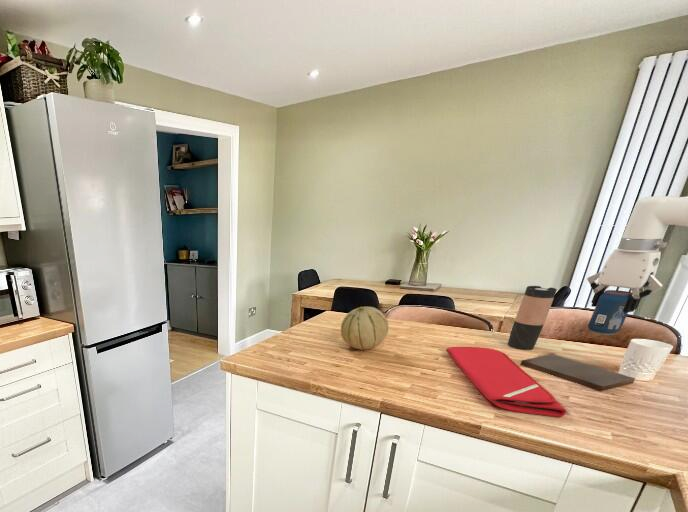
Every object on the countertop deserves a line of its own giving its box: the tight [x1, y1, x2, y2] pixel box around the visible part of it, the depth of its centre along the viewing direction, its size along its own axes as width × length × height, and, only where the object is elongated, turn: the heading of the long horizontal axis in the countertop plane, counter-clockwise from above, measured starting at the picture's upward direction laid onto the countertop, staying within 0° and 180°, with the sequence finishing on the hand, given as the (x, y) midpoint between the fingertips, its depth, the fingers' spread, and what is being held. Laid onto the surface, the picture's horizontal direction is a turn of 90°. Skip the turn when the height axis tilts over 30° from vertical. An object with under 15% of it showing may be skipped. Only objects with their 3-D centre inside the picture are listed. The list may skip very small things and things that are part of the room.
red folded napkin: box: [445, 346, 567, 418], centre depth 112 cm, size 16×41×4 cm, turn 161°
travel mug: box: [507, 285, 558, 351], centre depth 132 cm, size 8×8×20 cm
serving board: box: [520, 353, 636, 392], centre depth 115 cm, size 20×14×2 cm
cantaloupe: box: [340, 306, 390, 351], centre depth 135 cm, size 15×15×15 cm
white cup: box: [617, 338, 674, 382], centre depth 111 cm, size 8×8×10 cm
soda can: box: [587, 289, 633, 336], centre depth 117 cm, size 7×7×12 cm
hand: (611, 308), depth 117 cm, fingers closed on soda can, 7 cm apart
